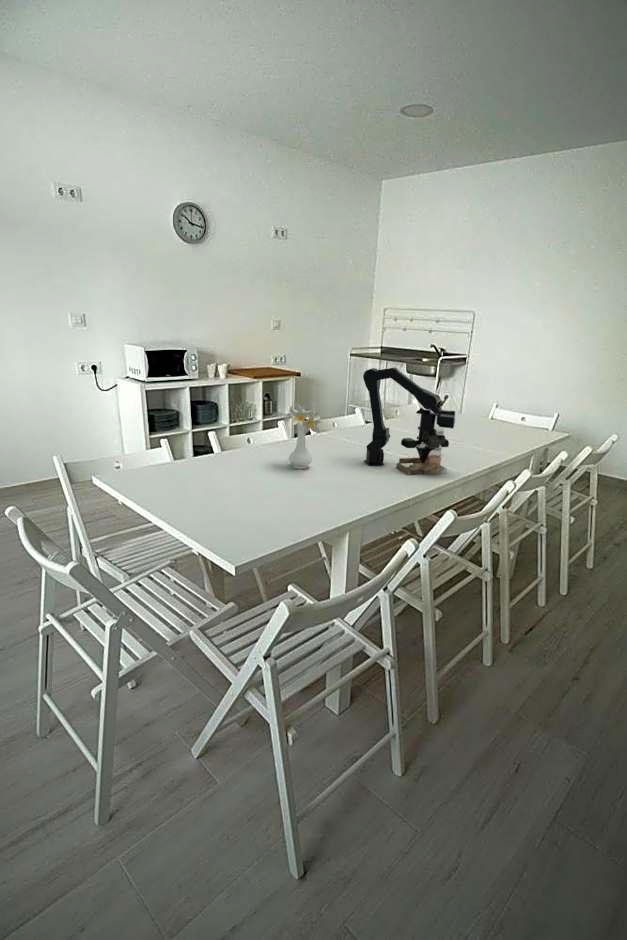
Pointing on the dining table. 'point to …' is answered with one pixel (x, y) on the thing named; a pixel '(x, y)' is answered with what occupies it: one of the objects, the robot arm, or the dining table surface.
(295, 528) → the dining table surface
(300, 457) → the flower vase
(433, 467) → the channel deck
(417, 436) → the robot arm
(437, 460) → the block
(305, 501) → the dining table surface
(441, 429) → the bath foam
